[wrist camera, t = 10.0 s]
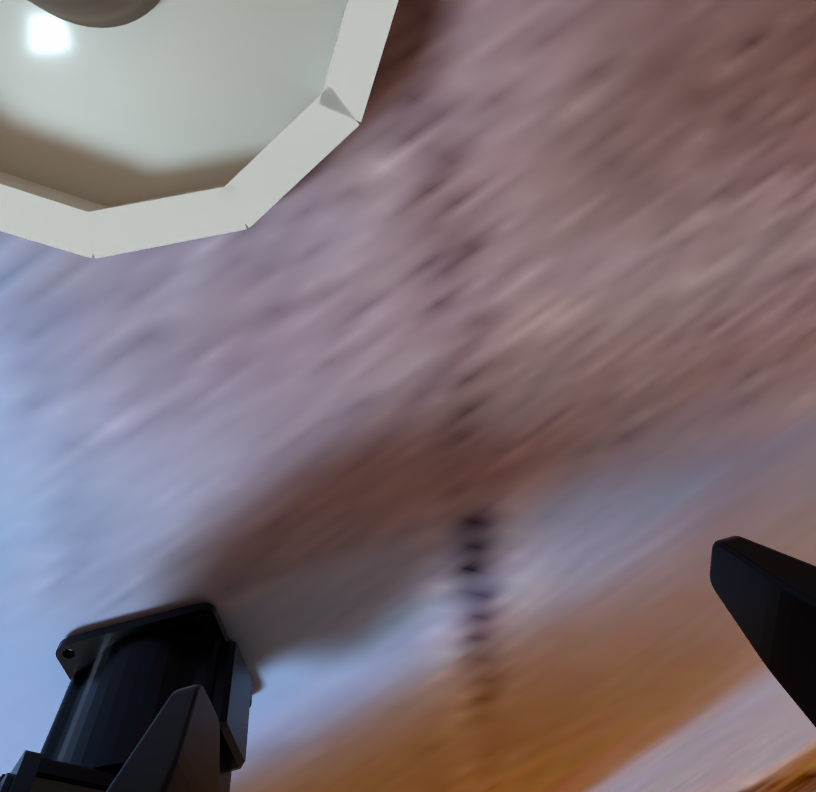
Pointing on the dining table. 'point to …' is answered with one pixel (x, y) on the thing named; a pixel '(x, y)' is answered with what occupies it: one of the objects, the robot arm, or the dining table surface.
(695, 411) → the dining table surface
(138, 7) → the pepper mill
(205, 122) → the dish
